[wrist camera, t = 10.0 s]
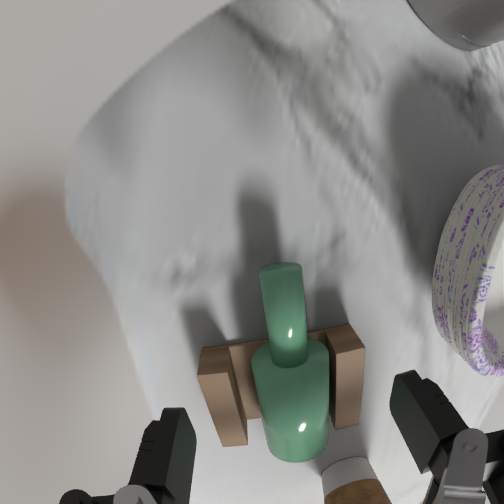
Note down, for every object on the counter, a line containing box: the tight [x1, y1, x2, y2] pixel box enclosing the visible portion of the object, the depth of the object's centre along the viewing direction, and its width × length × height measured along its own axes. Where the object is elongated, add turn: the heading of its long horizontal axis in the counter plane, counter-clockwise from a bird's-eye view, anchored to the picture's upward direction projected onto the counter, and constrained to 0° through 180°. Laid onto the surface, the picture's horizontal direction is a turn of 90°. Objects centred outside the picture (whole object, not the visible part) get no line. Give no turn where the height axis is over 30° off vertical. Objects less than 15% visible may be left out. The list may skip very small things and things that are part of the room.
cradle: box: [197, 324, 365, 447], centre depth 20 cm, size 8×11×3 cm
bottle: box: [251, 262, 329, 462], centre depth 19 cm, size 5×5×15 cm
